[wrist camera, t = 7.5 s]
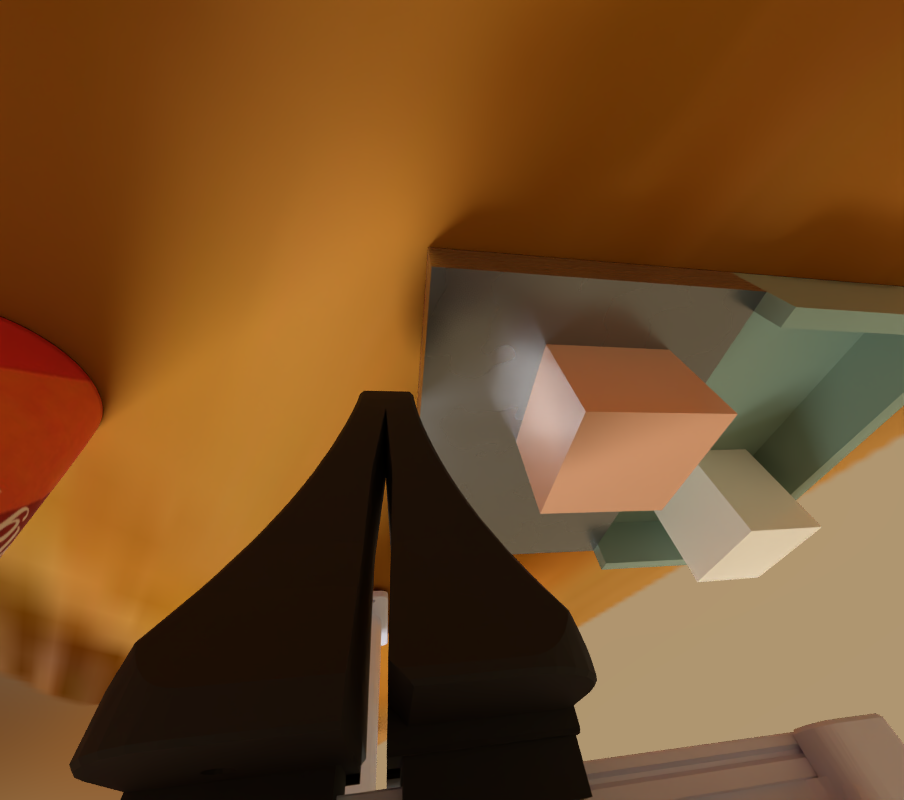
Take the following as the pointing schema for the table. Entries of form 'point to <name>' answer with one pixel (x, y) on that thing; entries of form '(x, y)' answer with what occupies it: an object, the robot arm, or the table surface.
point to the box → (792, 392)
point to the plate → (519, 355)
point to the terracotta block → (615, 428)
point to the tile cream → (733, 518)
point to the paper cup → (38, 422)
